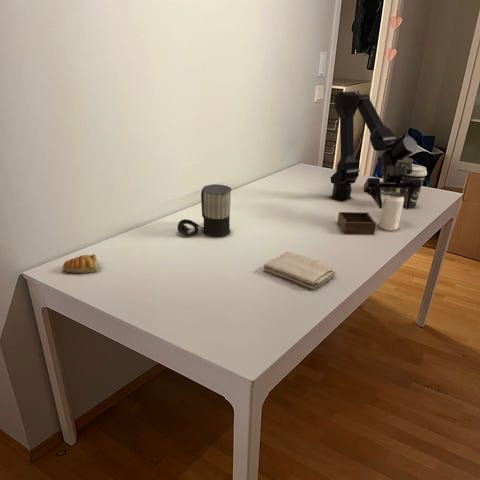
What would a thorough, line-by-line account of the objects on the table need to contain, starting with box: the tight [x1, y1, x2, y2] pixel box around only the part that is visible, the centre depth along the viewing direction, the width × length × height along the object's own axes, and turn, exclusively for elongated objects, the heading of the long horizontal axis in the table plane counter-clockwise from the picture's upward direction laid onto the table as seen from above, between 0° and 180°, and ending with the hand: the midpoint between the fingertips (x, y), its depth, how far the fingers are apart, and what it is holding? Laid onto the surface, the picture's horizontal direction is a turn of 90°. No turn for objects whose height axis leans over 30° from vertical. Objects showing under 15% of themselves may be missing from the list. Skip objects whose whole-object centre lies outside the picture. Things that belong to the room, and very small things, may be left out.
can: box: [378, 192, 404, 232], centre depth 163 cm, size 6×6×12 cm
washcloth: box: [262, 251, 336, 291], centre depth 133 cm, size 12×18×3 cm, turn 51°
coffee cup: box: [400, 164, 428, 209], centre depth 184 cm, size 10×10×15 cm
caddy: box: [337, 211, 377, 235], centre depth 164 cm, size 10×10×4 cm
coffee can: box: [380, 156, 414, 195], centre depth 198 cm, size 10×10×14 cm
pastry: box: [62, 253, 99, 274], centre depth 131 cm, size 9×7×4 cm
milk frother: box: [177, 183, 232, 238], centre depth 153 cm, size 14×16×15 cm
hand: (394, 208), depth 161 cm, fingers open, 9 cm apart
